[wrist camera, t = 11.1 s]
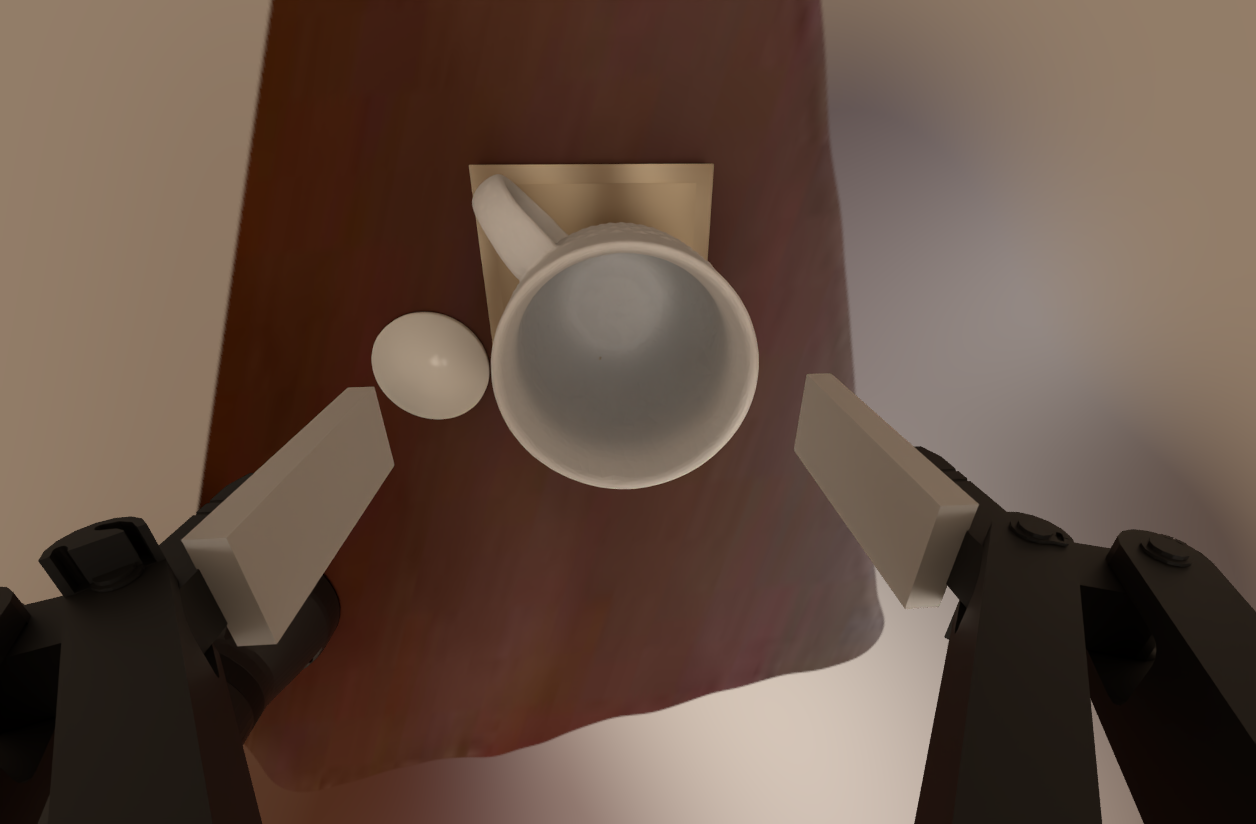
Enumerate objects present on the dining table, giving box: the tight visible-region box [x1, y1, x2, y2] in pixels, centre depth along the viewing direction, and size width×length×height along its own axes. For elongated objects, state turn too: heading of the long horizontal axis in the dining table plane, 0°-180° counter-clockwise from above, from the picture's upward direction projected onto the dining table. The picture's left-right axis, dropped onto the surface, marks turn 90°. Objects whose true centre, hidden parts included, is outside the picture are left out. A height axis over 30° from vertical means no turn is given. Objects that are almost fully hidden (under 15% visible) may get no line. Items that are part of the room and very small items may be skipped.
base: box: [469, 164, 714, 343], centre depth 32 cm, size 14×14×3 cm
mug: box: [472, 174, 759, 489], centre depth 25 cm, size 15×11×13 cm
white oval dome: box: [372, 311, 490, 419], centre depth 36 cm, size 8×8×1 cm
